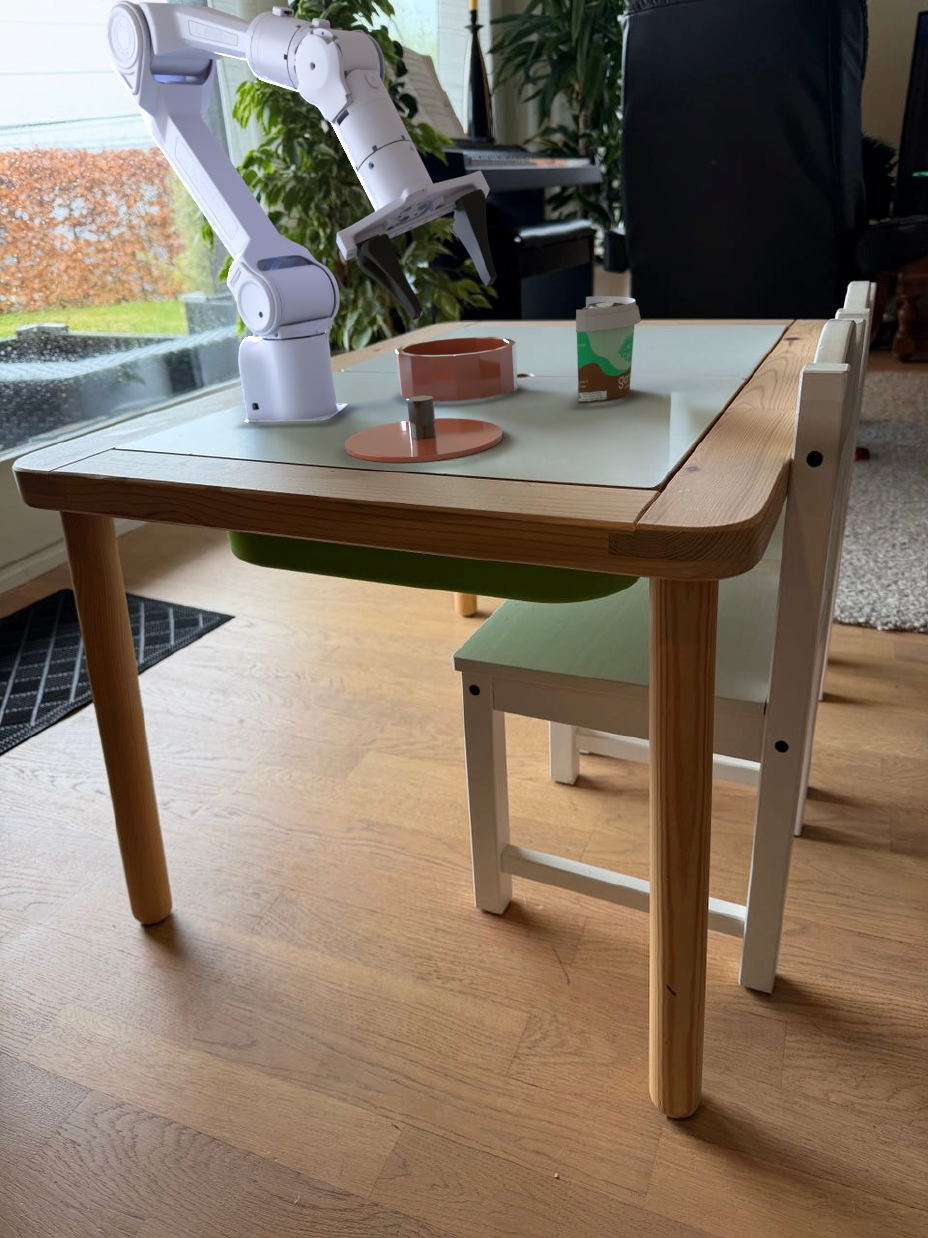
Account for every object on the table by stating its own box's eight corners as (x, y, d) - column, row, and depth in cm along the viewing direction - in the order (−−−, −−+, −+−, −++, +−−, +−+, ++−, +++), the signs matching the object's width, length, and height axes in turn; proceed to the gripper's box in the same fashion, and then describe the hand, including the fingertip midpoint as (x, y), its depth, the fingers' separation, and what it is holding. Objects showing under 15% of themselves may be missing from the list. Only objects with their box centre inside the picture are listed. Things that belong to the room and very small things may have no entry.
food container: (638, 410, 96) (638, 307, 92) (577, 411, 98) (575, 310, 94) (642, 386, 107) (643, 293, 103) (587, 387, 109) (586, 296, 105)
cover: (324, 470, 83) (317, 418, 81) (371, 430, 96) (366, 384, 94) (487, 468, 80) (484, 414, 78) (513, 427, 93) (511, 380, 91)
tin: (386, 407, 106) (382, 358, 104) (416, 383, 118) (412, 339, 116) (506, 404, 103) (504, 353, 101) (524, 380, 115) (522, 334, 113)
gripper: (314, 169, 80) (388, 315, 81) (464, 106, 82) (534, 248, 83) (312, 207, 87) (380, 341, 88) (451, 147, 89) (516, 279, 90)
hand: (455, 298), depth 86 cm, fingers open, 7 cm apart
